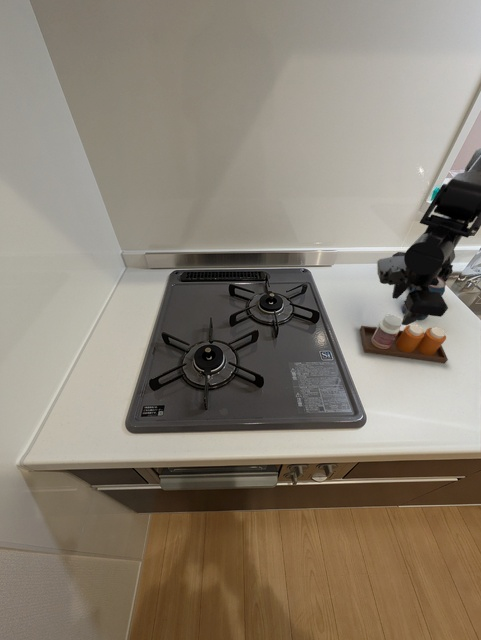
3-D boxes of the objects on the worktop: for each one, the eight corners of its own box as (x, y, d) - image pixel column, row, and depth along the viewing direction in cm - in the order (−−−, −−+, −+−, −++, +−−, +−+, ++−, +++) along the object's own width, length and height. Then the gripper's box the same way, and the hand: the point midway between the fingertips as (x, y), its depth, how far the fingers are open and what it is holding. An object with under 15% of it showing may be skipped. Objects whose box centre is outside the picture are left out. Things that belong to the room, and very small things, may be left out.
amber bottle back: (413, 341, 73) (425, 323, 68) (431, 343, 72) (444, 326, 68) (418, 354, 70) (431, 337, 65) (437, 356, 69) (451, 339, 65)
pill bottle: (391, 350, 70) (406, 328, 65) (372, 347, 71) (384, 325, 65) (388, 337, 74) (401, 314, 68) (369, 334, 74) (381, 311, 68)
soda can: (395, 307, 83) (413, 274, 75) (416, 304, 84) (436, 272, 76) (409, 323, 78) (430, 290, 70) (431, 320, 79) (454, 287, 71)
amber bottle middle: (394, 338, 73) (404, 321, 69) (411, 340, 73) (423, 323, 68) (397, 351, 70) (409, 334, 66) (416, 353, 70) (428, 336, 65)
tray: (359, 330, 76) (361, 325, 75) (433, 340, 74) (437, 334, 73) (363, 353, 70) (366, 348, 69) (443, 364, 68) (448, 359, 67)
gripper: (380, 225, 61) (358, 282, 72) (400, 274, 48) (369, 335, 59) (434, 230, 59) (403, 287, 70) (470, 281, 46) (425, 342, 57)
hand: (399, 310), depth 64 cm, fingers open, 9 cm apart
